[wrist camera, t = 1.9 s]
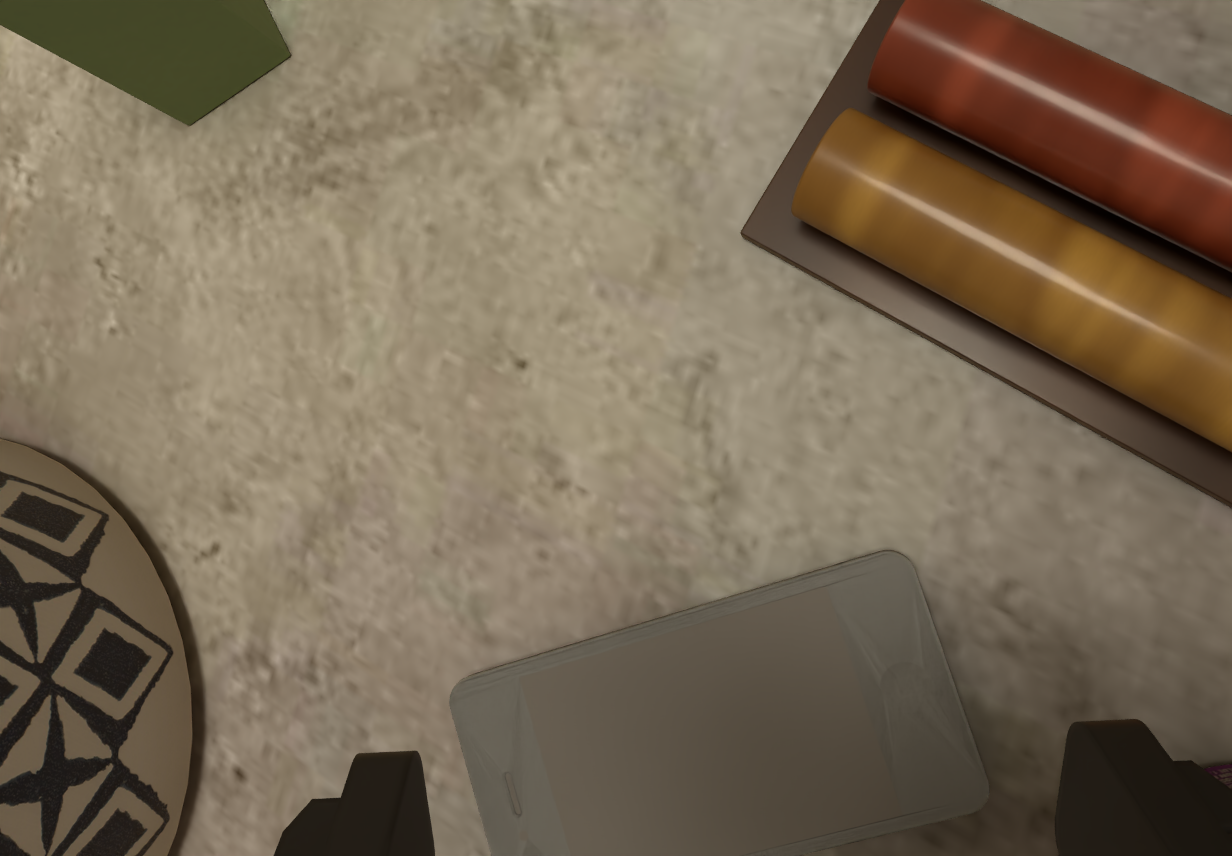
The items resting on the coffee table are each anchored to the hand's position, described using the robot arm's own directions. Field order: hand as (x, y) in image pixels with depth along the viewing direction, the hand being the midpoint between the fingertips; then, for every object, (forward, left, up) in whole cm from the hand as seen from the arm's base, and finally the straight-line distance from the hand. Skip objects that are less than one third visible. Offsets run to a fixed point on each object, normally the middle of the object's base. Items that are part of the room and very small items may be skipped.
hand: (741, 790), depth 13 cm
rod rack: (-13, +5, -21) cm, 25 cm away
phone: (+5, -3, -21) cm, 22 cm away
